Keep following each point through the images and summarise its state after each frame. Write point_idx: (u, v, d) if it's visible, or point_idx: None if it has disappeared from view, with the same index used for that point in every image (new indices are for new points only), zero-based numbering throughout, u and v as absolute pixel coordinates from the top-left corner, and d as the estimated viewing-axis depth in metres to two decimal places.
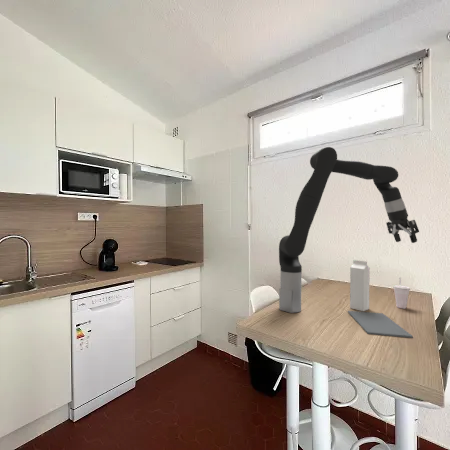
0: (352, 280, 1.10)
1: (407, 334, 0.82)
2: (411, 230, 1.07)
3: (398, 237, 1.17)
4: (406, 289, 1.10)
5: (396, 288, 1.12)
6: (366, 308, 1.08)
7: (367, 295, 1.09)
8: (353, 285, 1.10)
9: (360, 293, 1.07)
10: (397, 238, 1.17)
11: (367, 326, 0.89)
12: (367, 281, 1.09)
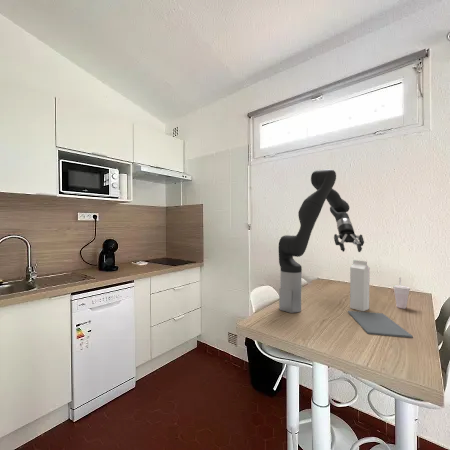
0: (352, 280, 1.10)
1: (407, 334, 0.82)
2: (361, 240, 1.24)
3: None
4: (406, 289, 1.10)
5: (396, 288, 1.12)
6: (366, 308, 1.08)
7: (367, 295, 1.09)
8: (353, 285, 1.10)
9: (360, 293, 1.07)
10: None
11: (367, 326, 0.89)
12: (367, 281, 1.09)
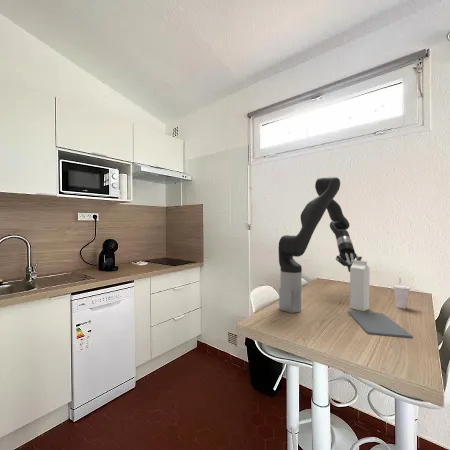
0: (352, 280, 1.10)
1: (407, 334, 0.82)
2: None
3: None
4: (406, 289, 1.10)
5: (396, 288, 1.12)
6: (366, 308, 1.08)
7: (367, 295, 1.09)
8: (353, 285, 1.10)
9: (360, 293, 1.07)
10: None
11: (367, 326, 0.89)
12: (367, 281, 1.09)
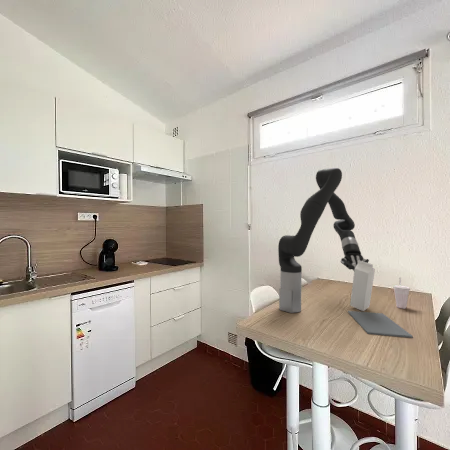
0: (355, 281, 1.06)
1: (407, 334, 0.82)
2: None
3: None
4: (406, 289, 1.10)
5: (396, 288, 1.12)
6: (366, 307, 1.08)
7: (369, 295, 1.07)
8: (356, 286, 1.06)
9: (361, 294, 1.05)
10: None
11: (367, 326, 0.89)
12: (371, 282, 1.05)
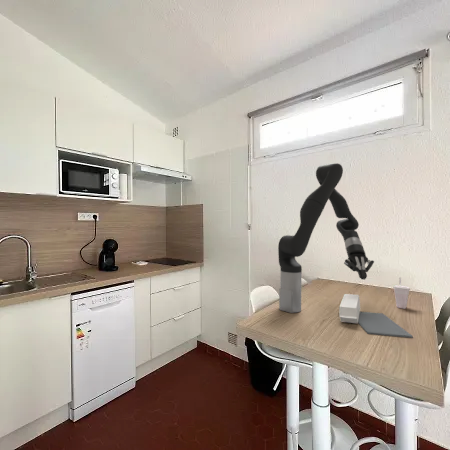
0: None
1: (407, 334, 0.82)
2: None
3: None
4: (406, 289, 1.10)
5: (396, 288, 1.12)
6: (359, 301, 1.07)
7: (358, 303, 1.02)
8: None
9: None
10: None
11: (367, 326, 0.89)
12: (357, 308, 0.96)
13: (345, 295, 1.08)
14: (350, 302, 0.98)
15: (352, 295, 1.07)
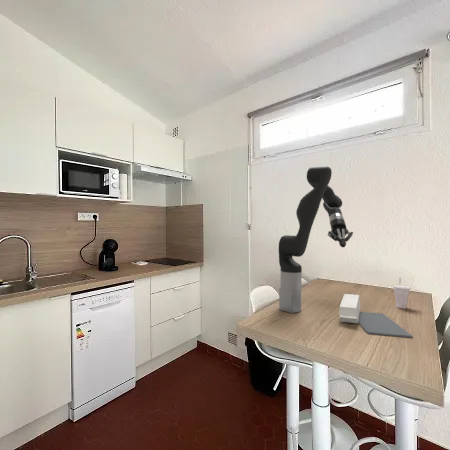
0: None
1: (407, 334, 0.82)
2: (347, 236, 1.26)
3: None
4: (406, 289, 1.10)
5: (396, 288, 1.12)
6: (359, 301, 1.07)
7: (358, 303, 1.02)
8: None
9: None
10: None
11: (367, 326, 0.89)
12: (357, 308, 0.96)
13: (345, 295, 1.08)
14: (350, 302, 0.98)
15: (352, 295, 1.07)
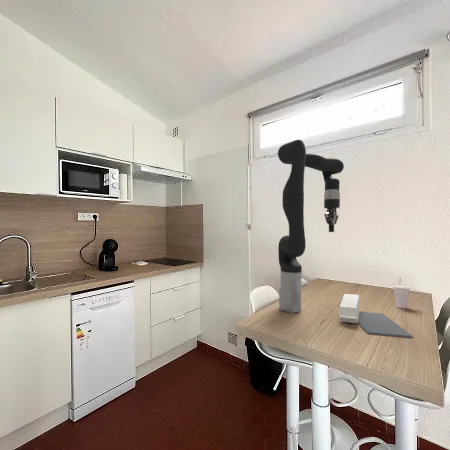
0: None
1: (407, 334, 0.82)
2: (336, 220, 1.26)
3: None
4: (406, 289, 1.10)
5: (396, 288, 1.12)
6: (359, 301, 1.07)
7: (358, 303, 1.02)
8: None
9: None
10: None
11: (367, 326, 0.89)
12: (357, 308, 0.96)
13: (345, 295, 1.08)
14: (350, 302, 0.98)
15: (352, 295, 1.07)
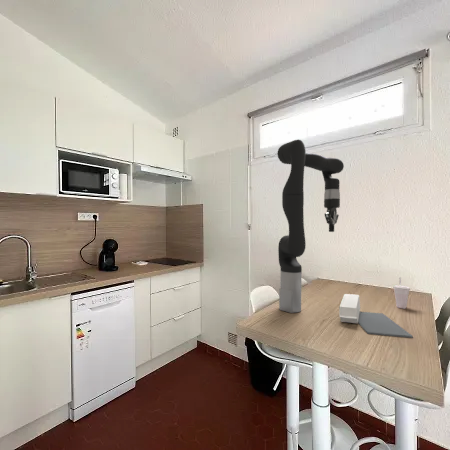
0: None
1: (407, 334, 0.82)
2: (336, 220, 1.26)
3: None
4: (406, 289, 1.10)
5: (396, 288, 1.12)
6: (359, 301, 1.07)
7: (358, 303, 1.02)
8: None
9: None
10: None
11: (367, 326, 0.89)
12: (357, 308, 0.96)
13: (345, 295, 1.08)
14: (350, 302, 0.98)
15: (352, 295, 1.07)
